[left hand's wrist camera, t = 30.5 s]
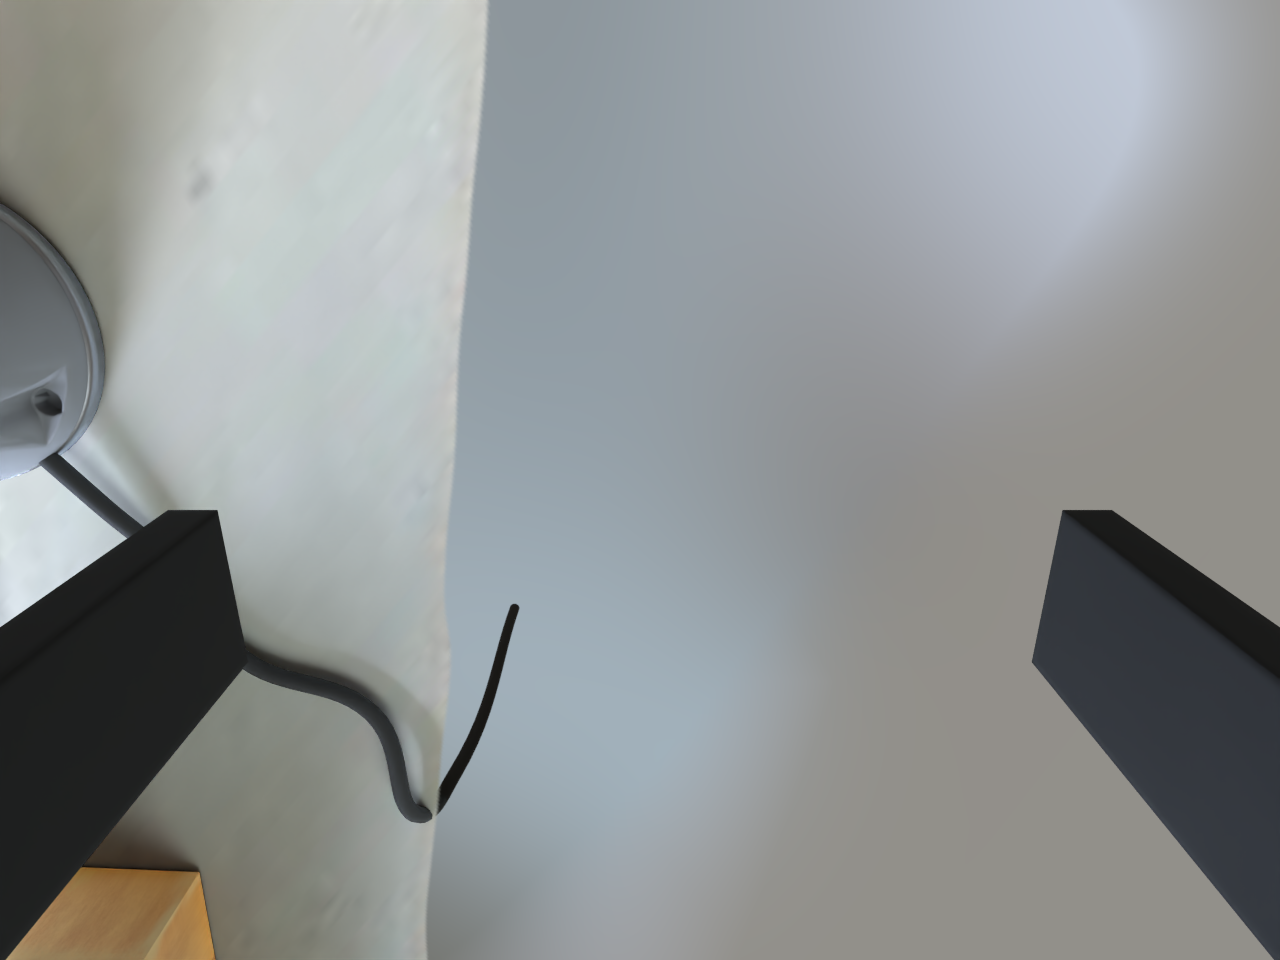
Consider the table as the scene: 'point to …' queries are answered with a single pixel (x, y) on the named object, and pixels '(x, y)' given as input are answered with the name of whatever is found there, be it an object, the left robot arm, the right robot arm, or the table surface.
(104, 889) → the bread
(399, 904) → the table surface
